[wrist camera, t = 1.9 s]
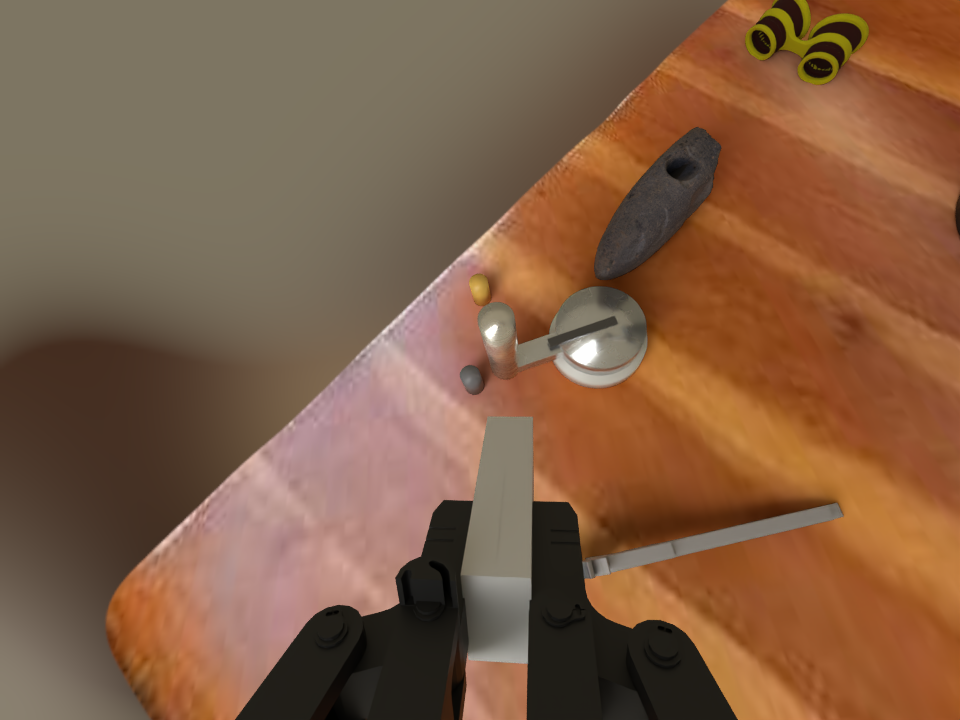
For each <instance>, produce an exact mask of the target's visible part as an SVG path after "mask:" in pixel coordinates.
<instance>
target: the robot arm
mask: <svg viewBox="0 0 960 720" xmlns="http://www.w3.org/2000/svg"><path fill="white" fill-rule="evenodd" d="M956 223H957V228H958V232H959V234H960V196H959V199H958V202H957V207H956ZM395 579H396V585H397V590H398V596H399V602H400V603H399V604H398V605H396V606H394V607H392V608H391V609H388V610H385V611H382V612H379V613H375V614H371V615H367V616H363V617H361V615H360V614H359V612H358V611H357V610H356V609H354V608H352V607H350V606H344V605H336V606H332V607H328V608H325V609H324V610H322V611H320V612H318V613H317V614H315V615H314V616H313V617H312V618H311V619H310V620H309V621H308V622H307V623H306V624H305V626H304V627H303V629H302V630H301V631H300V633H299V634H298V635H297V637H296V638H295V639H294V641H293V642H292V643H291V645H290V646H289V647H288V649H287V650H286V652H285V653H284V654H283V656H282V657H281V658H280V660H279V661H278V662H277V664H276V665H275V666H274V668H273V669H272V670H271V672H270V673H269V675H268V676H267V677H266V679H265V680H264V681H263V683H262V684H261V685H260V687H259V688H258V689H257V691H256V692H255V693H254V695H253V696H252V697H251V699H250V700H249V702H248V703H247V704H246V706H245V707H244V708H243V710H242V711H241V712H240V714H239V715H238V716H237V718H236V719H235V720H462V717H463V709H464V701H465V693H466V672H465V667H466V659H467V652H468V657H469V660H477V661H493V662H508V663H524V664H528V678H527V720H738V719H737V718H736V716H735V714H734V712H733V711H732V709H731V707H730V705H729V704H728V702H727V700H726V698H725V697H724V695H723V693H722V691H721V690H720V688H719V686H718V684H717V683H716V681H715V679H714V677H713V676H712V674H711V672H710V671H709V669H708V667H707V665H706V664H705V662H704V660H703V658H702V657H701V655H700V653H699V651H698V650H697V648H696V646H695V644H694V643H693V642H692V641H691V639H690V638H689V637H688V636H687V634H686V633H685V632H683V631H682V630H680V629H679V628H677V627H676V626H675V625H673V624H670V623H667V622H664V621H661V620H646V621H644V622H641V623H639V624H637V625H636V626H635V627H634V628H633V629H632V628H629V627H626V626H623V625H620V624H617V623H615V622H613V621H611V620H608V619H606V618H605V617H603V616H602V615H601V614H599V613H598V612H597V611H596V610H595V609H594V608H593V606H592V605H591V603H590V602H589V600H588V598H587V594H586V590H585V581H584V572H583V563H582V554H581V546H580V536H579V527H578V518H577V514H576V513H575V511H574V510H573V508H572V507H571V506H570V504H569V503H568V502H540V501H534V472H533V417H488V418H487V424H486V430H485V436H484V441H483V447H482V453H481V459H480V465H479V471H478V476H477V482H476V488H475V494H474V500H473V501H455V500H443V502H442V503H441V504H440V505H439V506H438V507H437V509H436V510H435V511H434V512H433V515H432V519H431V522H430V526H429V530H428V533H427V537H426V541H425V544H424V548H423V552H422V555H421V557H419V558H416V559H414V560H412V561H409V562H408V563H407V564H406V565H405V566H403V567H402V568H401V569H400V571H399V573H398V574H397V576H396V578H395Z"/></svg>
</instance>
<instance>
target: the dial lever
mask: <svg viewBox="0 0 960 720" xmlns="http://www.w3.org/2000/svg"><path fill="white" fill-rule="evenodd" d="M478 325H479V328H480V332H481V335H482V338H483V342H484V345H485V349H486V352H487V355H488V359H489V362H490V365H491V369H492V372H493V373H494V375H495V376H496V377H498V378H500V379H503V380H508V379H512V378H514V377H515V376H516V375H517V374H518V373H519V372H521V371H524V370H527V369H530V368H533V367H536V366H539V365H541V364H544V363H547V362H550V361H553V360H556V359H559V358H563V359H564V360H565V361H566V362H567V363H568V364H569V365H570V366H571V367H573V368H574V369H576V370H578V371H580V372H582V373H585V374H588V375H594V376H606V375H611V374H615V373H617V372H620V371H622V370H623V369H625V368H626V367H628V366H629V365H630V364H631V363H632V362H633V361H634V359H635V358H636V357H637V355H638V353H639V351H640V349H641V347H642V345H643V343H644V340H645V337H646V330H647V326H646V319H645V316H644V313H643V311H642V309H641V308H640V306H639V305H638V304H637V302H636V301H635V300H634V299H633V298H631V297H630V296H629V295H627V294H626V293H624V292H622V291H620V290H618V289H614V288H611V287H603V286H595V287H589V288H585V289H582V290H580V291H578V292H576V293H574V294H573V295H571V296H570V297H569V298H568V299H567V300H566V301H565V302H564V303H563V304H562V306H561V308H560V309H559V312H558V314H557V318H556V325H555V332H554V333H551V334H548V335H545V336H542V337H540V338H537V339H534V340H531V341H528V342H525V343H522V344H519V345H518V340H517V332H516V325H515V317H514V313H513V311H512V309H511V308H510V307H509V306H508V305H506V304H504V303H501V302H493V303H490V304H487V305H486V306H484V307H483V308H482V309H481V311H480V312H479V315H478Z"/></svg>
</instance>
